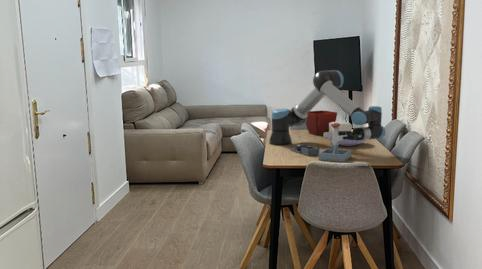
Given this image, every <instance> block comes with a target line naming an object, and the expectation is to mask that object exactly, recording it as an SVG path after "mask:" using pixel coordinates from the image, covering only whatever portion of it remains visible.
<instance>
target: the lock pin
mask: <svg viewBox="0 0 482 269" xmlns="http://www.w3.org/2000/svg"><path fill="white" fill-rule="evenodd" d="M331 126H332V142H331V149H332V154H338V149H339V145H338V141H337V136H339V126H340V124H339V123H331Z"/></svg>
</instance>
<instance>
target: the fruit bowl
mask: <svg viewBox="0 0 482 269" xmlns="http://www.w3.org/2000/svg"><path fill="white" fill-rule="evenodd" d="M352 131H353V129H352ZM329 132H332V130H331V131H329ZM326 139H327V140H328V141H329V142H330V143H332V137H326ZM364 142H365V141H364V140H359V141H356V140H341V141H338V146H342V147H352V146H358V145H360V144H362V143H364Z"/></svg>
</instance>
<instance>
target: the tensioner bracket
mask: <svg viewBox="0 0 482 269" xmlns="http://www.w3.org/2000/svg"><path fill="white" fill-rule="evenodd" d="M320 150H321V149H320V148H319V147H316V146H314V145H312V146H311V145H310V146H309V145H308V144H305V143H298V144H295V147H290V151H291V152H293V153H297V154H300V155H304V156H305V157H306V156H307V157H313V156H319V152H320Z"/></svg>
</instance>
